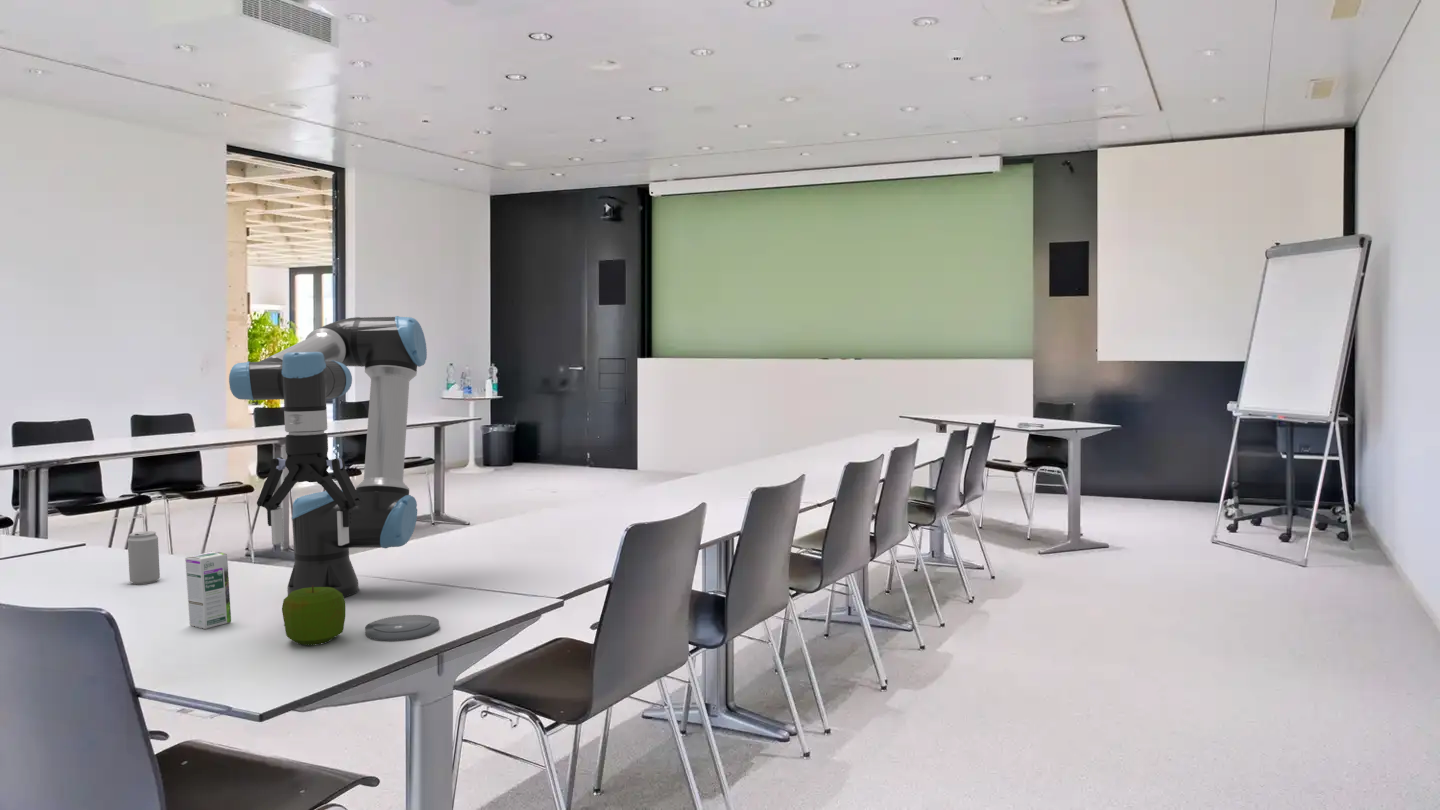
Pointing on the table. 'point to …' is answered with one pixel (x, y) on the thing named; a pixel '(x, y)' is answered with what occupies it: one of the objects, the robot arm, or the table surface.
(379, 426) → the robot arm
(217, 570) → the syrup box
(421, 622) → the slate plate
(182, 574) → the table surface
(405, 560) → the table surface
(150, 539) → the beverage can
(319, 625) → the apple
